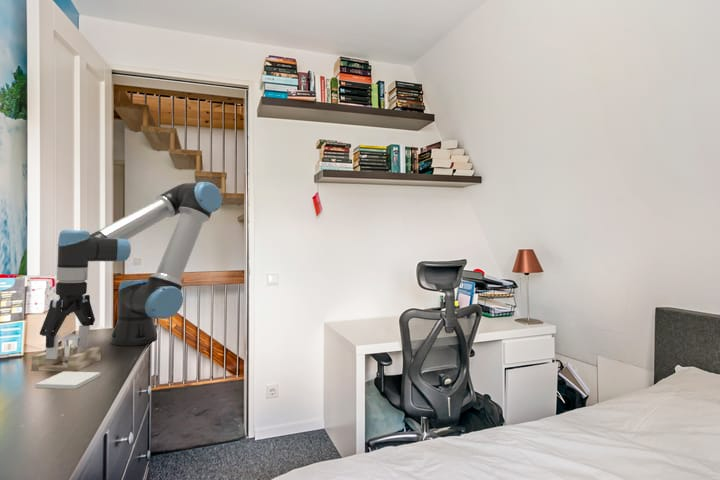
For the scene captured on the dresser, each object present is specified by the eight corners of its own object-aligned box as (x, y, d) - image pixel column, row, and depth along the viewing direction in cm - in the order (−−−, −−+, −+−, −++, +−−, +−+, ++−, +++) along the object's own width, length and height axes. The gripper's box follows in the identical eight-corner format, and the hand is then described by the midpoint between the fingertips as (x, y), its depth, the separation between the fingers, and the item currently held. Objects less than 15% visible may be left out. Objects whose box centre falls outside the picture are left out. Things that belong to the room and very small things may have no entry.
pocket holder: (61, 358, 124) (62, 345, 124) (100, 359, 125) (101, 346, 125) (31, 370, 112) (31, 356, 112) (74, 371, 113) (75, 357, 113)
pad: (63, 375, 110) (63, 371, 110) (100, 376, 110) (100, 372, 110) (35, 387, 100) (35, 384, 100) (75, 389, 100) (76, 385, 100)
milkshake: (55, 364, 118) (56, 331, 118) (76, 361, 122) (78, 328, 122) (58, 368, 115) (60, 333, 115) (80, 364, 119) (82, 331, 119)
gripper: (86, 277, 131) (83, 341, 131) (25, 285, 106) (21, 364, 106) (109, 278, 131) (106, 342, 131) (54, 286, 107) (50, 365, 106)
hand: (68, 352), depth 118 cm, fingers open, 13 cm apart
